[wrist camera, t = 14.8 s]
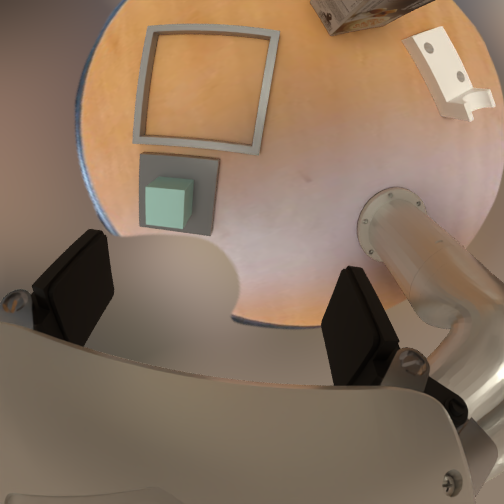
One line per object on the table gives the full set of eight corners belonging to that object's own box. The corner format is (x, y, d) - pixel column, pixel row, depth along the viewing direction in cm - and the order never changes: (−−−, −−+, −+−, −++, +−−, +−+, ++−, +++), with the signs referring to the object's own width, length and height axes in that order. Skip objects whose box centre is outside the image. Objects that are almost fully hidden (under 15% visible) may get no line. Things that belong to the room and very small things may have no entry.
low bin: (278, 35, 26) (280, 31, 25) (258, 153, 35) (258, 155, 33) (153, 29, 26) (147, 26, 24) (138, 141, 34) (132, 143, 32)
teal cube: (193, 179, 35) (184, 190, 31) (191, 214, 38) (183, 229, 33) (158, 176, 35) (145, 186, 31) (158, 210, 37) (145, 224, 33)
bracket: (465, 101, 28) (495, 105, 21) (439, 116, 30) (470, 121, 24) (429, 29, 23) (457, 21, 16) (400, 40, 25) (427, 31, 18)
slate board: (219, 158, 35) (218, 160, 34) (211, 231, 41) (210, 236, 39) (144, 152, 35) (139, 153, 33) (143, 222, 40) (139, 226, 39)
